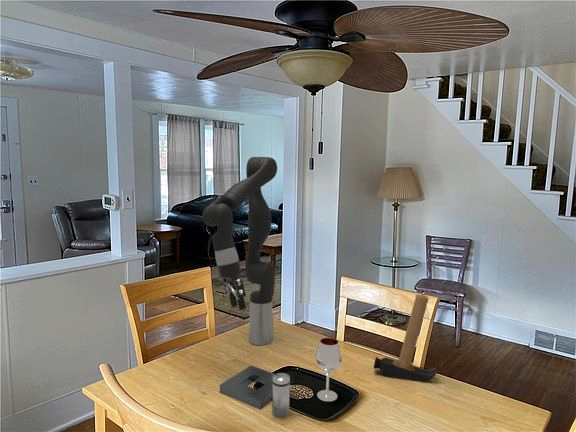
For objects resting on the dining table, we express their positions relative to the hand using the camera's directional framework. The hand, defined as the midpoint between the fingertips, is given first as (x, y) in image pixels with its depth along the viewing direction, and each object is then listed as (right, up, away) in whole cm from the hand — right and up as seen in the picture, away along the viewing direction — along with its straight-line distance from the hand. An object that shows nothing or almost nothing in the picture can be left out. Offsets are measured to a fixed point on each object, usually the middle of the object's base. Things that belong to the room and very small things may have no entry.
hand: (238, 307), depth 142 cm
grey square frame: (+6, -25, -8) cm, 26 cm away
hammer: (+57, -25, +3) cm, 63 cm away
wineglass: (+29, -26, -11) cm, 40 cm away
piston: (+15, -26, -20) cm, 36 cm away
